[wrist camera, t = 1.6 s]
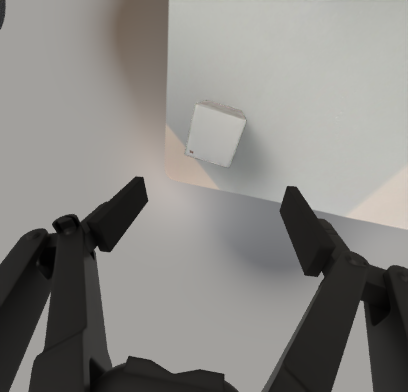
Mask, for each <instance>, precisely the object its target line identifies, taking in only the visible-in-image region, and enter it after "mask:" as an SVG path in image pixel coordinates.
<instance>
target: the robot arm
mask: <svg viewBox="0 0 408 392" xmlns="http://www.w3.org/2000/svg"><path fill="white" fill-rule="evenodd" d="M147 202H148V198H147V193H146V188H145V183H144V178H143V177H135V178H134V179H132V180H131V181H130V182H129V183H128V184H127V185H126V186H125V187H124V188H123V189H122V190H120V191H119V192H118V193H117V194H116V195H115V196H114V197H113V198H112V199H111V200H110V201H108V202H105V203H103V204H101V205H99V206H98V207H97V208H96V209H95V210H94V211H93V212H92V213H90V214H89V215H88V216H87V217H86V218H85V219H84V220H82V221H81V222H80V221H79V219H78V217H77V216H76V215H74V214H69V215H65V216H62V217H60V218H58V219H56V220H55V221H54V222H53V223H52V225H53V227H54V229H55V230H56V232H57V233H52V234H49V233H48V232H47V230H46V229H43V228H42V229H35V230H32V231H30V232H28V233H26V234H25V235H23V236H22V237H21V238H20V240H19V241H18V242H17V243H16V245H15V246H14V247H13V249H12V250H11V251H10V252H9V254H8V255H7V257H6V258H5V259H4V260H3V261H2V263H1V264H0V392H9V390H10V388H11V385H12V383H13V380H14V378H15V376H16V373H17V371H18V369H19V366H20V364H21V361H22V359H23V357H24V354H25V352H26V349H27V347H28V344H29V342H30V340H31V337H32V335H33V332H34V330H35V328H36V325H37V323H38V320H39V318H40V316H41V313H42V311H43V309H44V306H45V304H46V302H47V299H48V297H49V294H50V292H51V297H50V306H49V314H48V322H47V330H46V338H45V346H44V350H43V352H42V353H41V354H39V355H37V357H36V359H35V360H34V363H33V367H32V373H31V379H30V385H29V392H238V390H237V389H235V388H234V387H233V386H232V385H231V384H230V383H228V382H226V381H225V380H224V374H222V373H217V372H211V371H206V370H201V369H199V370H194V371H188V372H182V373H177V374H173V373H171V372H169V371H167V370H166V369H164V368H163V367H161V366H160V365H158V364H156V363H155V362H153V361H151V360H147V359H143V358H137V357H132V356H129V357H128V359H127V362H126V363H123V364H120V365H118V366H115V367H113V368H112V363H111V360H110V357H109V354H108V350H107V342H106V334H105V326H104V318H103V310H102V301H101V293H100V285H99V277H98V269H97V261H96V253H95V251H94V249H95V248H96V246H98V247H99V250H100V251H103V252H111V251H112V249H113V248H114V246H115V245H116V244H117V243H118V241H119V240H120V238H121V237H122V236H123V234H124V233H125V232H126V230H127V229H128V228H129V226H130V225H131V224H132V222H133V221H134V220H135V218H136V217H137V215H138V214H139V213H140V211H141V210H142V209H143V207H144V206H145V205H146V203H147ZM280 214H281V216H282V219H283V221H284V224H285V226H286V229H287V231H288V234H289V237H290V239H291V242H292V244H293V247H294V249H295V251H296V254H297V257H298V259H299V262H300V264H301V267H302V269H303V272H304V275H306V276H314V277H318V276H319V274H320V273H321V271H322V273H323V275H324V279H323V280H322V282H321V284H320V285H319V288H318V290H317V291H316V294H315V295H314V297H313V299H312V301H311V302H310V304H309V306H308V308H307V310H306V312H305V314H304V315H303V317H302V319H301V321H300V323H299V325H298V326H297V328H296V330H295V332H294V334H293V336H292V338H291V339H290V341H289V343H288V345H287V347H286V348H285V350H284V352H283V354H282V356H281V358H280V359H279V361H278V363H277V365H276V367H275V369H274V371H273V372H272V374H271V376H270V378H269V380H268V381H267V383H266V385H265V386H264V388H263V390H262V392H331V390H332V387H333V384H334V381H335V378H336V375H337V372H338V368H339V365H340V362H341V358H342V356H343V352H344V349H345V346H346V343H347V339H348V336H349V333H350V330H351V327H352V324H353V321H354V318H355V315H356V311H357V308H358V305H359V302H360V300H361V301H364V309H365V318H366V327H367V337H368V345H369V355H370V364H371V372H372V373H371V374H372V382H373V391H374V392H408V269H407V268H405V267H401V266H397V265H393V266H390V267H389V268H388V269H387V270H385V269H382V268H379V267H375V266H372V265H370V264H369V263H368V262H367V260H366V259H365V258H363V257H362V256H360V255H359V254H357V253H354V252H352V251H350V250H349V248H348V247H347V246H346V244H345V243H344V242H343V240H342V239H341V237H340V236H339V235H338V234H337V232H336V231H335V230H334V228H333V227H332V225H331V224H330V223H328V222H327V221H326V220H325V219H318V218H317V217H316V215H315V214H314V212H313V211H312V209H311V208H310V206H309V205H308V203H307V202H306V200H305V199H304V197H303V196H302V194H301V193H300V191H299V190H298V188H297V187H294V186H287V188H286V191H285V195H284V198H283V201H282V205H281V208H280Z"/></svg>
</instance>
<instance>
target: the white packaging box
mask: <svg viewBox="0 0 408 392" xmlns="http://www.w3.org/2000/svg"><path fill="white" fill-rule="evenodd" d="M246 121H247V120H246V118H245V116H244V115H243V113H242V111H241V110H237V109H234V108H231V107H228V106H225V105H221V104H218V103H215V102H212V101H208V100H205V101H202V102H199V103H195V105H194V110H193V115H192V120H191V125H190V129H189V134H188V140H187V144H186V149H185V153H184V154H185V155H186V156H190V157H193V158H197V159H200V160H204V161H207V162H210V163H213V164H217V165H220V166H223V167H227V168H229V167H230V164H231V162H232V159H233V157H234V154H235V151H236V149H237V146H238V143H239V141H240V138H241V135H242V133H243V130H244V127H245V124H246Z"/></svg>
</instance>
